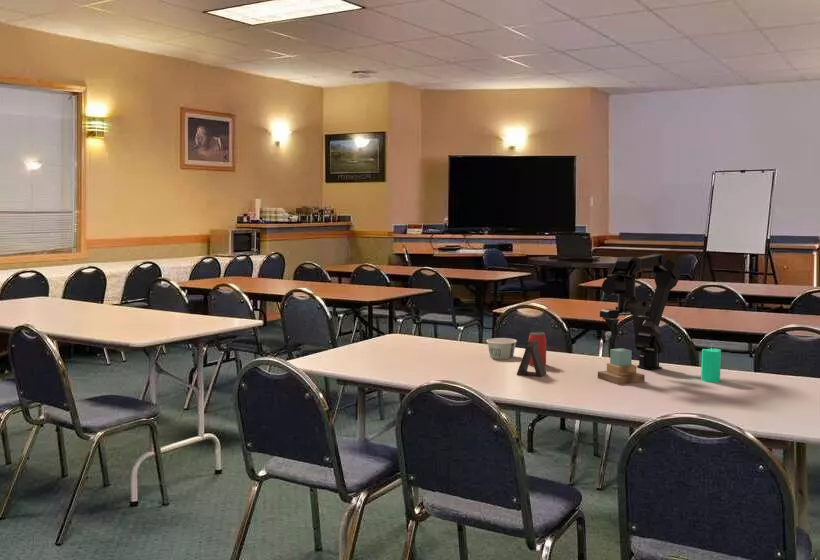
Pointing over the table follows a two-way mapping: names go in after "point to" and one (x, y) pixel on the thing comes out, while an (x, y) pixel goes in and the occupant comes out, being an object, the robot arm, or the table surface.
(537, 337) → the beer can
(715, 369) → the candle
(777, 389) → the table surface
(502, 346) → the food container
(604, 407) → the table surface
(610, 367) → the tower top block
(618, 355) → the teal cube
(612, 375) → the tower base block
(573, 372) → the table surface
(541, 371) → the dark grey a-shaped piece
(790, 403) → the table surface
